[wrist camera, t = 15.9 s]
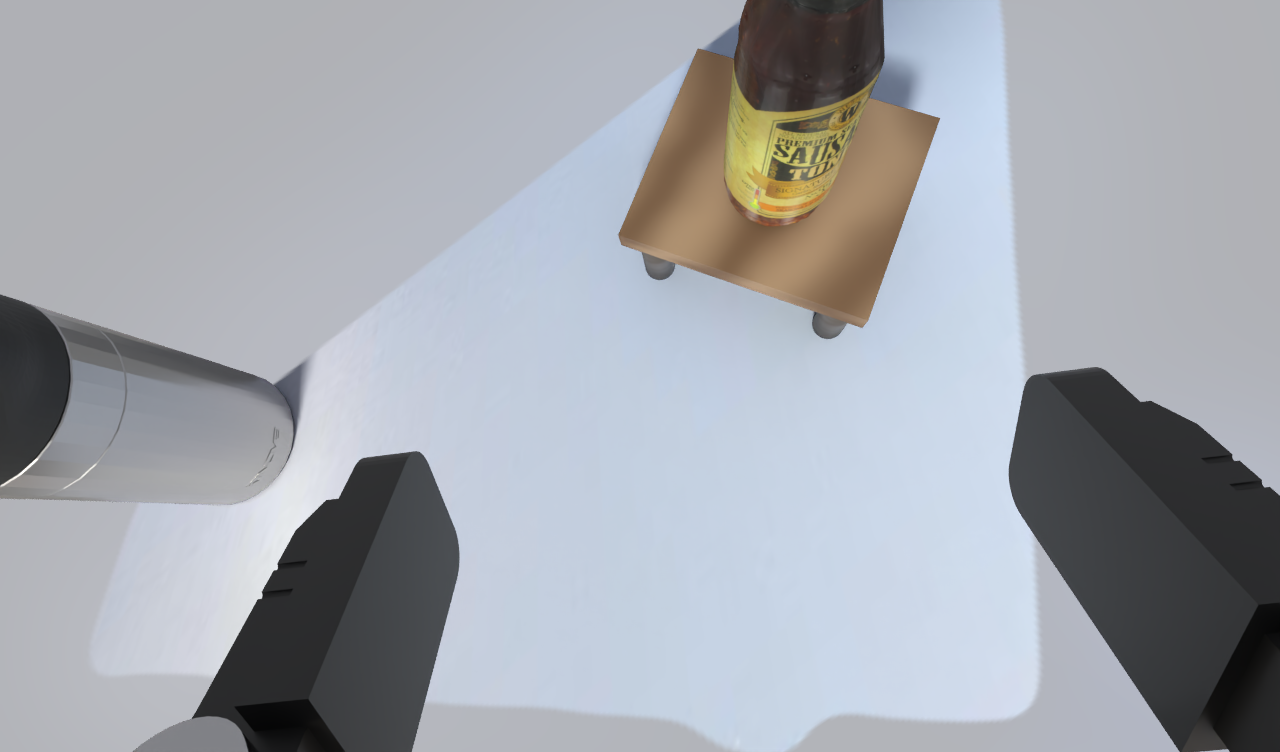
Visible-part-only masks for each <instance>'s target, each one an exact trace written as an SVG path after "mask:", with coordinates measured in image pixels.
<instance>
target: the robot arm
mask: <svg viewBox="0 0 1280 752" xmlns="http://www.w3.org/2000/svg"><path fill="white" fill-rule="evenodd" d="M293 435H294V433H293V419H292V415H291V411H290V407H289V405H288V404H287V402H286V400H285V398H284V396H283V395H282V394H281V393H280V391H279V390H278V389H277V388H276V387H275V386H274V385H272V384H271V383H269V382H268V381H267V380H265V379H262V378H260V377H257V376H255V375H252V374H249V373H246V372H243V371H239V370H236V369H233V368H230V367H227V366H223V365H221V364H218V363H215V362H212V361H209V360H205V359H202V358H199V357H196V356H193V355H189V354H186V353H183V352H180V351H177V350H174V349H171V348H168V347H164V346H161V345H158V344H155V343H151V342H149V341H146V340H142V339H139V338H136V337H133V336H130V335H127V334H123V333H120V332H117V331H114V330H111V329H108V328H104V327H101V326H98V325H95V324H92V323H89V322H85V321H82V320H78V319H75V318H72V317H69V316H66V315H62V314H59V313H56V312H53V311H50V310H47V309H44V308H40V307H37V306H34V305H31V304H27V303H25V302H22V301H19V300H16V299H13V298H9V297H6V296H3V295H0V498H1V499H44V500H45V499H46V500H48V499H49V500H78V501H79V500H80V501H109V502H111V501H112V502H142V503H174V504H202V505H231V504H235V503H239V502H243V501H246V500H248V499H250V498H252V497H254V496H256V495H258V494H259V493H260V492H261V491H263V490H264V489H265V488H267V487H268V486H269V485H270V484H271V483H272V482H273V481H274V479H275V478H276V477H277V476H278V475H279V473H280V472H281V470H282V468H283V467H284V465H285V463H286V461H287V459H288V456H289V453H290V451H291V447H292V441H293ZM1009 483H1010V488H1011V493H1012V496H1013V499H1014V502H1015V505H1016V507H1017V509H1018V511H1019V512H1020V514H1021V516H1022V517H1023V519H1024V520H1025V522H1026V523H1027V525H1028V526H1029V528H1030V529H1031V531H1032V532H1033V534H1034V535H1035V537H1036V538H1037V540H1038V541H1039V543H1040V544H1041V546H1042V547H1043V548H1044V550H1045V552H1046V553H1047V555H1048V556H1049V557H1050V559H1051V561H1052V562H1053V564H1054V565H1055V567H1056V568H1057V569H1058V571H1059V572H1060V574H1061V575H1062V577H1063V578H1064V580H1065V581H1066V583H1067V584H1068V586H1069V587H1070V589H1071V590H1072V592H1073V593H1074V595H1075V596H1076V598H1077V599H1078V601H1079V602H1080V604H1081V605H1082V607H1083V608H1084V610H1085V611H1086V613H1087V614H1088V616H1089V617H1090V619H1091V620H1092V622H1093V623H1094V625H1095V626H1096V628H1097V629H1098V631H1099V632H1100V634H1101V635H1102V636H1103V638H1104V639H1105V641H1106V642H1107V644H1108V645H1109V647H1110V649H1111V650H1112V651H1113V653H1114V654H1115V656H1116V657H1117V659H1118V660H1119V662H1120V663H1121V665H1122V666H1123V668H1124V669H1125V671H1126V672H1127V674H1128V675H1129V677H1130V678H1131V680H1132V681H1133V683H1134V684H1135V686H1136V687H1137V689H1138V690H1139V692H1140V693H1141V695H1142V696H1143V698H1144V699H1145V701H1146V702H1147V704H1148V705H1149V707H1150V708H1151V710H1152V711H1153V713H1154V714H1155V716H1156V717H1157V718H1158V720H1159V721H1160V723H1161V725H1162V726H1163V728H1164V729H1165V731H1166V732H1167V733H1168V735H1169V736H1170V738H1171V739H1172V741H1173V742H1174V744H1175V745H1176V747H1177V748H1178V750H1179V751H1180V752H1200V751H1210V750H1222V749H1228V750H1229V751H1230V752H1280V496H1279V495H1278V494H1277V493H1276V492H1275V491H1274V490H1272V489H1271V488H1270V487H1266V488H1264V487H1263V485H1262V480H1261V479H1260V478H1259V477H1258V476H1257V475H1255V474H1254V473H1253V472H1252V471H1250V469H1248V468H1247V467H1246V466H1245V465H1244V464H1243V463H1242V462H1240V461H1234V460H1233V459H1232V454H1231V453H1230V452H1229V451H1228V450H1227V449H1226V448H1224V447H1223V446H1222V445H1221V444H1220V443H1219V442H1217V441H1216V440H1215V439H1214V438H1213V437H1212V436H1211V435H1209V434H1208V433H1207V432H1206V431H1204V429H1203V428H1201V427H1200V426H1199V425H1198V424H1196V423H1194V422H1192V421H1190V420H1188V419H1186V418H1184V417H1182V416H1180V415H1178V414H1176V413H1174V412H1172V411H1170V410H1168V409H1166V408H1164V407H1162V406H1160V405H1158V404H1156V403H1154V402H1152V401H1146V402H1140V401H1139V400H1138V399H1137V398H1135V397H1134V396H1133V395H1132V394H1131V393H1130V392H1129V391H1128V390H1127V389H1126V388H1124V387H1123V386H1122V385H1121V384H1120V383H1119V382H1118V381H1117V380H1116V379H1115V378H1114V377H1112V375H1110V374H1109V373H1108V372H1107V371H1105V370H1104V369H1101V368H1098V367H1093V368H1084V369H1077V370H1069V371H1061V372H1053V373H1045V374H1038V375H1033V376H1031V377H1030V378H1029V379H1028V381H1027V382H1026V384H1025V387H1024V391H1023V395H1022V401H1021V406H1020V411H1019V416H1018V422H1017V427H1016V432H1015V437H1014V443H1013V448H1012V453H1011V458H1010V464H1009ZM458 570H459V545H458V538H457V534H456V531H455V528H454V525H453V523H452V521H451V518H450V516H449V513H448V511H447V508H446V506H445V503H444V501H443V499H442V496H441V494H440V491H439V489H438V486H437V484H436V481H435V479H434V476H433V474H432V472H431V469H430V467H429V464H428V462H427V460H426V459H425V457H424V456H423V455H422V454H421V453H420V452H417V451H415V452H407V453H399V454H391V455H383V456H375V457H367V458H363V459H361V460H360V461H359V462H358V463H357V464H356V466H355V467H354V469H353V471H352V473H351V475H350V477H349V479H348V481H347V483H346V485H345V487H344V489H343V491H342V493H341V495H340V497H339V499H332V500H326V501H325V502H324V503H323V504H322V505H321V506H320V507H319V508H318V509H317V510H316V511H315V512H314V513H313V514H312V515H311V516H310V517H309V518H308V519H307V520H306V521H305V522H304V523H303V524H302V525H301V526H300V527H299V528H298V529H297V530H296V531H295V533H294V535H293V536H292V538H291V540H290V542H289V544H288V545H287V547H286V549H285V551H284V553H283V555H282V556H281V558H280V560H279V562H278V570H275V571H273V573H272V575H271V576H270V578H269V580H268V582H267V584H266V585H265V587H264V589H263V591H262V594H263V597H262V599H258V600H257V602H256V604H255V605H254V607H253V609H252V611H251V613H250V615H249V616H248V618H247V620H246V622H245V624H244V626H243V627H242V629H241V631H240V633H239V635H238V636H237V638H236V640H235V642H234V644H233V646H232V647H231V649H230V651H229V653H228V655H227V656H226V658H225V660H224V662H223V664H222V666H221V667H220V669H219V671H218V673H217V675H216V676H215V678H214V680H213V682H212V684H211V686H210V687H209V689H208V691H207V693H206V695H205V697H204V698H203V700H202V702H201V704H200V706H199V707H198V709H197V711H196V713H195V714H194V716H193V717H192V719H190V720H187V721H183V722H181V723H178V724H176V725H174V726H171V727H169V728H167V729H165V730H164V731H162V732H160V733H158V734H157V735H155V736H153V737H152V738H150V739H149V740H147V741H146V742H144V743H143V744H141V745H140V746H139V747H138V748H136V749H135V750H134V751H133V752H412V748H413V744H414V741H415V737H416V733H417V729H418V725H419V722H420V718H421V714H422V710H423V706H424V702H425V699H426V695H427V691H428V687H429V683H430V679H431V676H432V672H433V668H434V664H435V660H436V657H437V653H438V649H439V645H440V641H441V637H442V634H443V630H444V626H445V622H446V618H447V614H448V611H449V607H450V603H451V599H452V595H453V592H454V588H455V584H456V580H457V576H458Z"/></svg>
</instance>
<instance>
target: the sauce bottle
mask: <svg viewBox="0 0 1280 752" xmlns="http://www.w3.org/2000/svg"><path fill="white" fill-rule="evenodd" d="M884 58H885V56H884V25H883V0H747V1H746V4H745V6H744V10H743V12H742V16H741V21H740V25H739V39H738V44H737V47H736V51H735V56H734V63H733V73H732V82H731V94H730V104H729V114H728V123H727V133H726V141H725V153H724V182H725V185H726V190H727V193H728V196H729V199H730V201H731V203H732V204H733V206H734V207H735V209H736V210H737V211H738V212H739V213H740V214H741V215H742V216H743V217H745V218H747V219H748V220H749V221H751V222H754V223H757V224H760V225H763V226H783V225H790V224H792V223H797V222H799V221H800V220H802V219H805V218H807V217H809V216H810V214H811V213H813V212H814V210H815V209H816V208H817V207H818V206H819V204H820V203H821V202H822V201H823V200H824V199H825V198H826V197H827V195H828V194H829V193H830V191H831V189H832V186H833V184H834V182H835V179H836V177H837V174H838V172H839V170H840V167H841V165H842V162H843V160H844V157H845V155H846V152H847V150H848V147H849V145H850V144H851V141H852V139H853V136H854V134H855V132H856V129H857V126H858V124H859V121H860V118H861V116H862V113H863V111H864V109H865V106H866V104H867V102H868V99H869V97H870V95H871V92H872V90H873V87H874V85H875V83H876V81H877V78H878V76H879V73H880V70H881V68H882V66H883V62H884Z"/></svg>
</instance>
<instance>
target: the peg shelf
mask: <svg viewBox="0 0 1280 752" xmlns="http://www.w3.org/2000/svg"><path fill="white" fill-rule="evenodd" d="M733 63H734V59H733V58H729V57H726V56H722V55H719V54H716V53H712V52H709V51H705V50H702V49H697V52H696V54H695V56H694V59H693V61H692V63H691V66H690V68H689V70H688V73H687V75H686V78H685V80H684V82H683V85H682V87H681V89H680V92H679V94H678V96H677V99H676V101H675V103H674V106H673V108H672V110H671V113H670V115H669V117H668V120H667V122H666V124H665V127H664V129H663V131H662V134H661V136H660V139H659V141H658V143H657V146H656V148H655V150H654V153H653V155H652V157H651V160H650V162H649V164H648V167H647V169H646V171H645V174H644V176H643V178H642V181H641V183H640V185H639V188H638V190H637V192H636V195H635V197H634V200H633V202H632V204H631V207H630V209H629V211H628V214H627V216H626V218H625V221H624V223H623V225H622V228H621V230H620V232H619V239H620V242H621V245H623V246H626V247H629V248H632V249H635V250H638V251H641V252H642V255H643V259H644V263H645V267H646V271H647V273H648V275H649V276H650V277H652V278H654V279H656V280H663V279H666V278H668V277H669V276H670V275H671V274H672V273H673V271H674V267H675V265H674V263H675V264H678V265H681V266H684V267H687V268H690V269H693V270H696V271H699V272H702V273H704V274H707V275H710V276H713V277H716V278H719V279H722V280H725V281H728V282H731V283H733V284H736V285H739V286H742V287H745V288H748V289H751V290H754V291H757V292H760V293H762V294H765V295H768V296H771V297H774V298H777V299H780V300H783V301H786V302H789V303H791V304H794V305H797V306H800V307H803V308H806V309H809V310H812V311H815V312H817V313H816V315H815V317H814V319H813V322H812V325H813V329H814V331H815V333H816V334H817V335H818V336H820V337H822V338H825V339H831V338H835V337H836V336H838V335H839V334H840V333H841V331H842V330H843V329H844V327H845V326H846V324H847V323H849V324H852V325H855V326H858V327H861V328H862V327H863V326H864V325H865V324H866V322H867V321H868V319H869V316H870V314H871V311H872V308H873V305H874V302H875V300H876V297H877V294H878V291H879V288H880V286H881V283H882V280H883V277H884V274H885V271H886V269H887V266H888V263H889V260H890V257H891V255H892V252H893V249H894V246H895V243H896V241H897V238H898V235H899V232H900V229H901V227H902V224H903V221H904V218H905V215H906V212H907V210H908V207H909V204H910V201H911V198H912V196H913V193H914V190H915V187H916V184H917V182H918V179H919V176H920V173H921V170H922V167H923V165H924V162H925V159H926V156H927V153H928V151H929V148H930V145H931V142H932V139H933V137H934V134H935V131H936V128H937V125H938V122H939V120H940V118H937V117H934V116H930V115H927V114H924V113H920V112H917V111H913V110H910V109H906V108H903V107H899V106H896V105H892V104H889V103H885V102H882V101H878V100H875V99H872V98H869V99H868V102H867V104H866V106H865V109H864V111H863V113H862V116H861V118H860V121H859V124H858V126H857V129H856V132H855V134H854V136H853V139H852V141H851V144H850V145H849V147H848V150H847V152H846V155H845V157H844V160H843V162H842V165H841V167H840V170H839V172H838V174H837V177H836V179H835V182H834V184H833V186H832V189H831V191H830V193H829V194H828V195H827V197H826V198H825V199H824V200H823V201H822V202H821V203H820V204H819V206H818V207H817V208H816V209H815V210H814V212H813V213H811V214H810V216H809V217H807V218H805V219H802V220H800V221H799V222H797V223H792V224H790V225H783V226H763V225H760V224H757V223H754V222H751V221H749V220H748V219H747V218H745V217H743V216H742V215H741V214H740V213H739V212H738V211H737V210H736V209H735V207H734V206H733V204H732V203H731V201H730V199H729V196H728V193H727V190H726V185H725V182H724V153H725V141H726V133H727V123H728V114H729V104H730V94H731V82H732V73H733Z"/></svg>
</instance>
